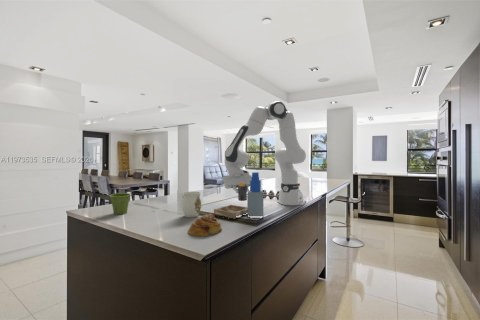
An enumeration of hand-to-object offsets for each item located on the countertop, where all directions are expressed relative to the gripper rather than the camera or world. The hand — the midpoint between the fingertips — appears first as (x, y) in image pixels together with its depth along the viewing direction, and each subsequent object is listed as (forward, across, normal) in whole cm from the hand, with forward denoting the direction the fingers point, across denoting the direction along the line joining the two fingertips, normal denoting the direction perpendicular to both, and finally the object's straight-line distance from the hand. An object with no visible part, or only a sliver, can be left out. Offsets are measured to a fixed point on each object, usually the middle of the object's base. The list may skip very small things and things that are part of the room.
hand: (242, 191), depth 154 cm
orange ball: (-3, 0, -2) cm, 4 cm away
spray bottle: (+22, -2, -6) cm, 22 cm away
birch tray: (+14, -12, +1) cm, 18 cm away
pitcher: (+8, -33, +7) cm, 35 cm away
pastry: (+29, -34, -14) cm, 47 cm away
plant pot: (-10, -70, +24) cm, 75 cm away
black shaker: (+3, 0, +4) cm, 5 cm away
